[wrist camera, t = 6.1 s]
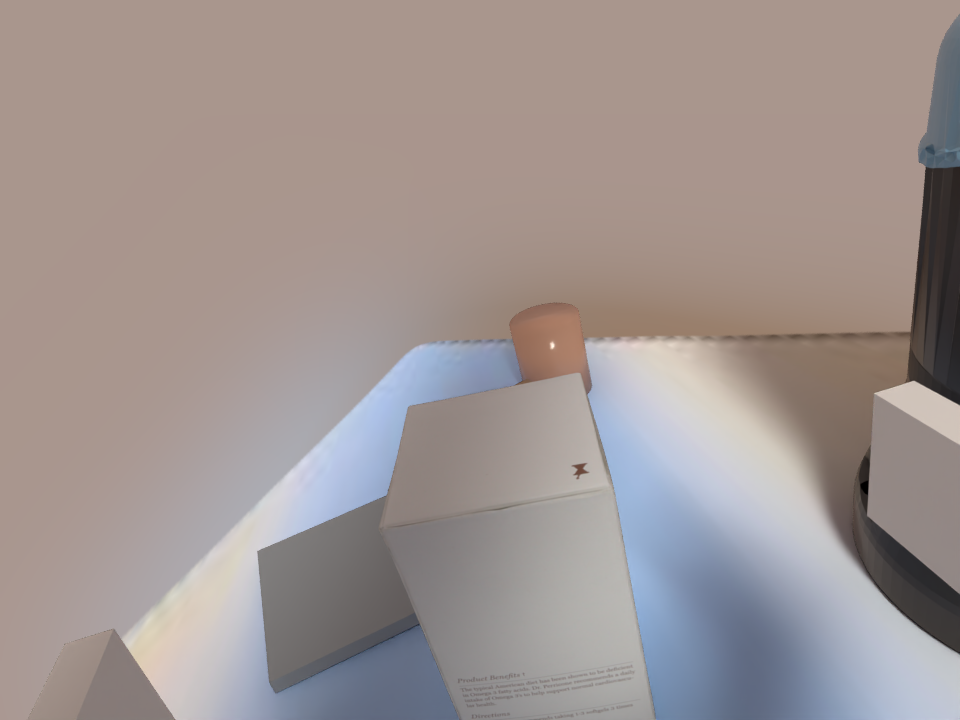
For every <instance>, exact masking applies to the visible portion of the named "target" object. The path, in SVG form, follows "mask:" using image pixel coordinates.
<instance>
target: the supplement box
mask: <svg viewBox="0 0 960 720" xmlns="http://www.w3.org/2000/svg"><path fill="white" fill-rule="evenodd" d="M379 531H380V533H381V535H382V537H383V540H384V542H385V544H386V546H387V548H388V550H389V552H390V554H391V556H392V558H393V561H394V563H395V565H396V568H397V570H398V572H399V575H400V577H401V579H402V582H403V584H404V586H405V589H406V591H407V593H408V596H409V598H410V601H411V604H412V606H413V608H414V611H415V613H416V616H417V618H418V620H419V623H420V625H421V628H422V630H423V632H424V635H425V637H426V640H427V642H428V645H429V647H430V650H431V652H432V654H433V657H434V659H435V662H436V664H437V666H438V669H439V671H440V674H441V676H442V679H443V681H444V684H445V686H446V688H447V691H448V693H449V696H450V698H451V700H452V703H453V705H454V707H455V710H456V712H457V715H458V717H459V719H460V720H656V716H655V710H654V705H653V699H652V694H651V689H650V684H649V678H648V673H647V668H646V662H645V657H644V651H643V646H642V640H641V635H640V629H639V624H638V618H637V613H636V607H635V602H634V596H633V591H632V585H631V580H630V574H629V569H628V563H627V558H626V552H625V546H624V541H623V535H622V530H621V524H620V519H619V513H618V508H617V502H616V496H615V491H614V487H613V483H612V479H611V475H610V471H609V467H608V464H607V460H606V456H605V452H604V449H603V446H602V442H601V439H600V435H599V432H598V429H597V425H596V422H595V419H594V416H593V412H592V409H591V406H590V403H589V399H588V396H587V393H586V390H585V386H584V383H583V379H582V376H581V373H573V374H568V375H563V376H558V377H554V378H549V379H544V380H540V381H535V382H530V383H525V384H520V385H515V386H510V387H505V388H500V389H495V390H490V391H485V392H480V393H475V394H470V395H465V396H460V397H455V398H450V399H445V400H440V401H434V402H428V403H423V404H418V405H412V406H409V407H408V411H407V415H406V419H405V424H404V428H403V433H402V437H401V442H400V446H399V451H398V455H397V460H396V463H395V467H394V471H393V475H392V478H391V482H390V486H389V490H388V493H387V497H386V501H385V505H384V509H383V513H382V516H381V520H380V524H379Z"/></svg>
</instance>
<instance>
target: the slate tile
mask: <svg viewBox="0 0 960 720" xmlns="http://www.w3.org/2000/svg"><path fill="white" fill-rule="evenodd" d="M386 497H387V496H384V497H382V498H380V499H377V500H375V501H373V502H370V503H368V504H366V505H363V506H361V507H359V508H356V509H354V510H352V511H349V512H347V513H345V514H343V515H340V516H338V517H336V518H333V519H331V520H329V521H326V522H324V523H322V524H319V525H317V526H315V527H312V528H310V529H308V530H305V531H303V532H301V533H298V534H296V535H294V536H292V537H289V538H287V539H285V540H282V541H280V542H278V543H275V544H273V545H271V546H268V547H266V548H264V549H261V550H259V551H257V552H258V563H259V574H260V585H261V596H262V607H263V618H264V629H265V641H266V652H267V663H268V674H269V683H270V685H271V686H272V688H273V690H274V691H275V693H278V692H280V691H282V690H284V689H286V688H288V687H290V686H292V685H294V684H296V683H298V682H300V681H302V680H304V679H307V678H309V677H311V676H313V675H315V674H317V673H319V672H321V671H323V670H325V669H327V668H329V667H331V666H333V665H335V664H337V663H340V662H342V661H344V660H346V659H348V658H350V657H352V656H354V655H356V654H358V653H360V652H362V651H364V650H366V649H368V648H370V647H373V646H375V645H377V644H379V643H381V642H383V641H385V640H387V639H389V638H391V637H393V636H395V635H397V634H399V633H401V632H403V631H406V630H408V629H410V628H412V627H414V626H416V625H418V624H420V623H419V620H418V618H417V616H416V613H415V611H414V608H413V606H412V604H411V601H410V598H409V596H408V593H407V591H406V589H405V586H404V584H403V582H402V579H401V577H400V575H399V572H398V570H397V568H396V565H395V563H394V561H393V558H392V556H391V554H390V552H389V550H388V548H387V546H386V544H385V542H384V540H383V537H382V535H381V533H380V531H379V524H380V520H381V516H382V513H383V509H384V505H385V501H386Z"/></svg>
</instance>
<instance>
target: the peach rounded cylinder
mask: <svg viewBox="0 0 960 720" xmlns="http://www.w3.org/2000/svg"><path fill="white" fill-rule="evenodd" d="M510 330H511V334H512V338H513V343H514V347H515V351H516V355H517V360H518V364H519V368H520V372H521V377H522V381H524V380H526V379H529V380H530V381H532V382H535V381H540V380H544V379H549V378H554V377H558V376H563V375H568V374H573V373H581V376H582V379H583V383H584V386H585V390H586V393H587V394H588V393H589V392H590V390H591V388H592V383H591V377H590V371H589V366H588V360H587V355H586V349H585V344H584V338H583V332H582V327H581V322H580V316H579V311H578V309H577V308H576V307H575V306H573V305H570V304H566V303H548V304H542V305H538V306H535V307H531V308H528V309H526V310H524V311H522V312H520V313H518V314H517V315H516V316H514V317H513V318H512V320H511V321H510Z"/></svg>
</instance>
